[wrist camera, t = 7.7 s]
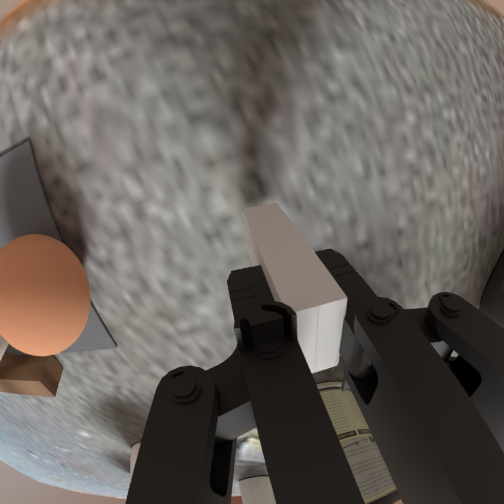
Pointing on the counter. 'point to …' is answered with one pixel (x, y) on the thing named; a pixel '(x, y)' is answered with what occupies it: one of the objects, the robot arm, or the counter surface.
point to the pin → (2, 346)
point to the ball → (42, 295)
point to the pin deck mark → (37, 230)
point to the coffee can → (358, 445)
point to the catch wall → (30, 375)
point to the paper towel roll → (257, 491)
